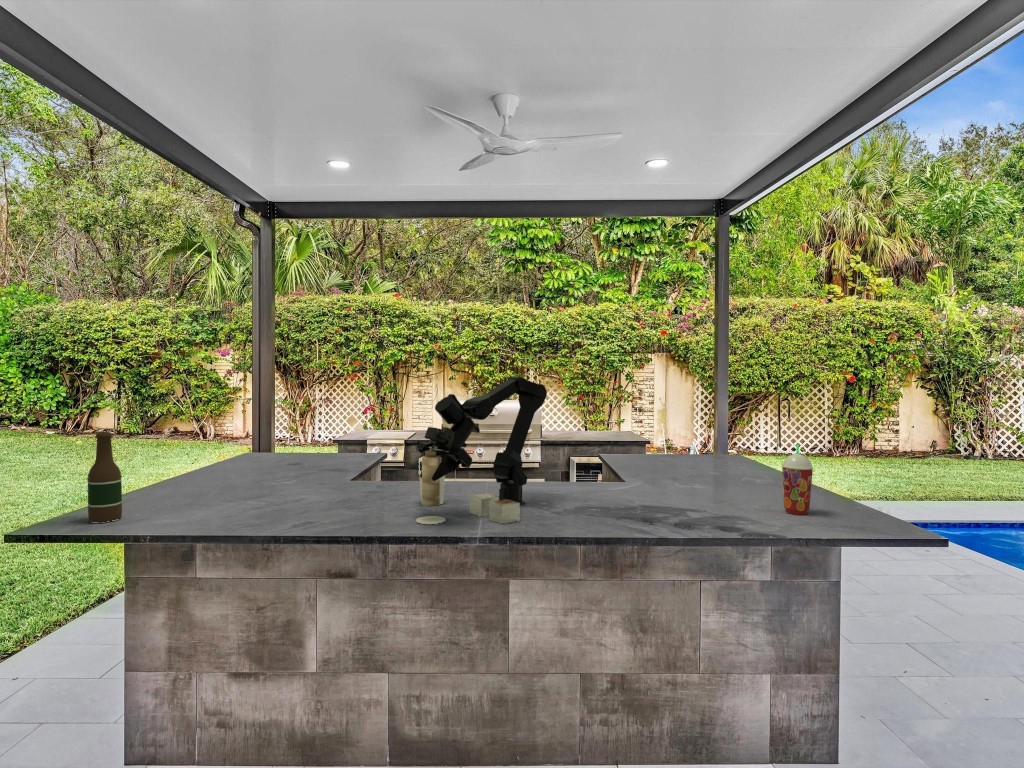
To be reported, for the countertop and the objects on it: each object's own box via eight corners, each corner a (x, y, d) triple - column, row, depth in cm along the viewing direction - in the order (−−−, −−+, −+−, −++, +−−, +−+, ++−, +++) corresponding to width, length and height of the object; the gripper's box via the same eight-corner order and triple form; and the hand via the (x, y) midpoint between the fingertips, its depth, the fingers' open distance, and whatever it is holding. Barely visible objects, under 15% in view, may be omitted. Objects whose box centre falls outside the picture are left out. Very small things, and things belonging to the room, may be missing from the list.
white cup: (440, 506, 188) (440, 474, 187) (415, 505, 189) (415, 473, 189) (448, 501, 195) (448, 469, 195) (424, 500, 197) (424, 468, 197)
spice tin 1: (487, 509, 184) (487, 492, 184) (498, 513, 179) (498, 495, 179) (469, 512, 180) (469, 494, 180) (481, 516, 175) (481, 498, 175)
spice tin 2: (506, 516, 176) (506, 498, 176) (519, 521, 171) (519, 502, 171) (489, 519, 172) (489, 501, 172) (501, 524, 167) (501, 505, 167)
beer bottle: (128, 518, 172) (127, 431, 172) (102, 525, 165) (100, 434, 164) (108, 515, 175) (106, 430, 174) (81, 522, 168) (79, 433, 167)
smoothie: (812, 511, 184) (813, 443, 183) (812, 517, 176) (813, 447, 176) (781, 508, 187) (782, 442, 187) (780, 514, 180) (781, 445, 179)
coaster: (436, 516, 176) (436, 514, 176) (450, 522, 170) (450, 520, 170) (410, 520, 171) (410, 518, 171) (424, 526, 165) (424, 524, 165)
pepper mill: (438, 501, 173) (438, 449, 173) (441, 505, 169) (440, 452, 168) (421, 502, 172) (420, 450, 172) (423, 506, 167) (422, 452, 167)
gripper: (421, 414, 179) (389, 456, 172) (463, 418, 166) (431, 464, 158) (443, 439, 185) (413, 481, 177) (485, 444, 172) (455, 490, 164)
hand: (426, 478), depth 169 cm, fingers closed on pepper mill, 5 cm apart
